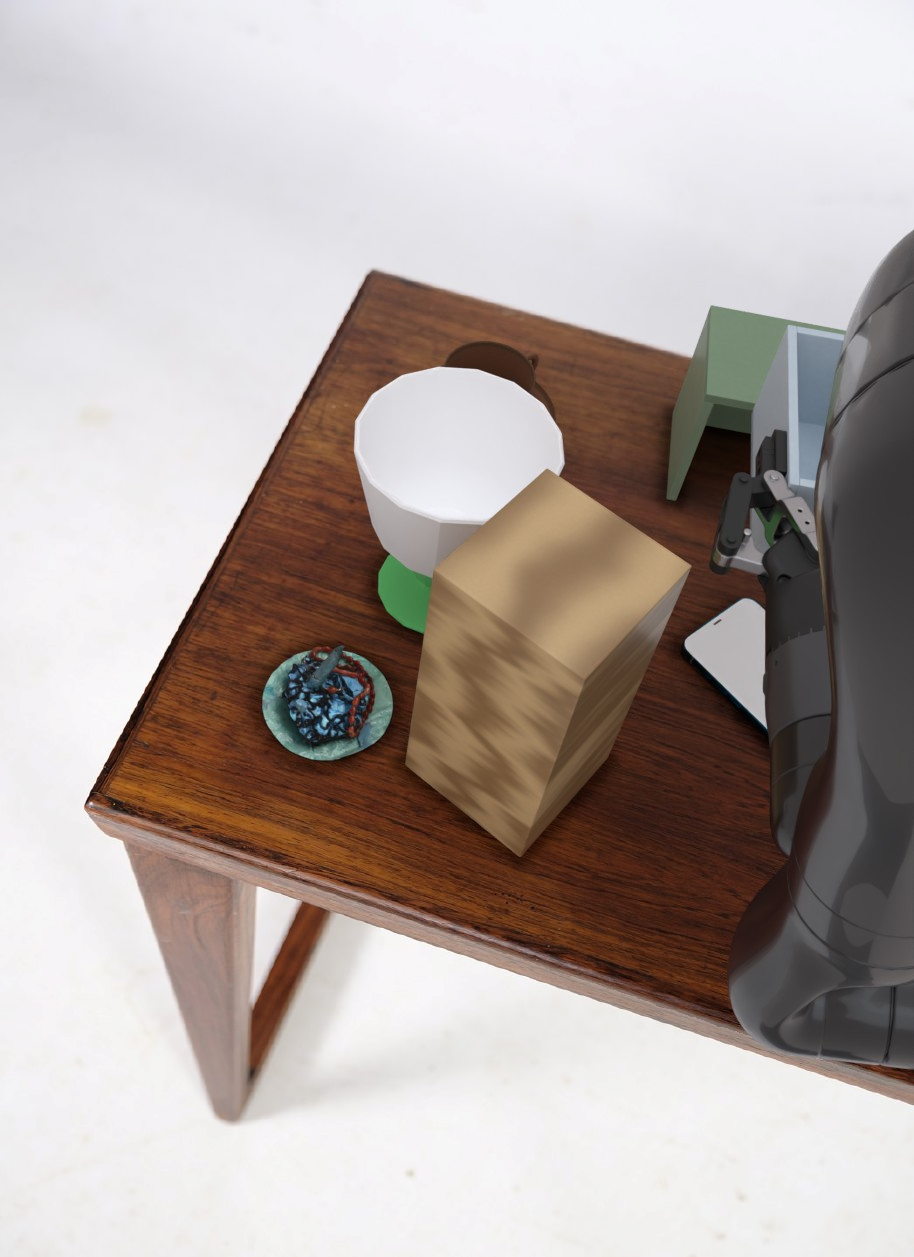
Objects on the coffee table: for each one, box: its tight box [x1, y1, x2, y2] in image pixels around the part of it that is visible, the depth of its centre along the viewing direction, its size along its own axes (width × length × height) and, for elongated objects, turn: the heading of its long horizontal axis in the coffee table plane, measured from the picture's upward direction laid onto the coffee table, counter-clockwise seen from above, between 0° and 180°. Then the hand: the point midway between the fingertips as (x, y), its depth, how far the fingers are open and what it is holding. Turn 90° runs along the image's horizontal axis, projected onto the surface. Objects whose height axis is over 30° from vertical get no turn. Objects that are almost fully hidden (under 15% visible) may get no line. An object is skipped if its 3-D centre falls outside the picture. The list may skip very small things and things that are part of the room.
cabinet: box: [666, 304, 846, 502], centre depth 95 cm, size 10×11×12 cm
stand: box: [404, 469, 692, 858], centre depth 73 cm, size 10×10×22 cm
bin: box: [749, 325, 845, 553], centre depth 76 cm, size 14×6×8 cm, turn 171°
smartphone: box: [680, 597, 769, 741], centre depth 87 cm, size 8×1×16 cm
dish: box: [261, 644, 394, 761], centre depth 82 cm, size 8×7×8 cm
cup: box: [353, 366, 566, 635], centre depth 83 cm, size 14×14×16 cm
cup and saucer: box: [439, 340, 557, 424], centre depth 97 cm, size 12×12×6 cm
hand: (829, 449), depth 73 cm, fingers closed on bin, 6 cm apart
